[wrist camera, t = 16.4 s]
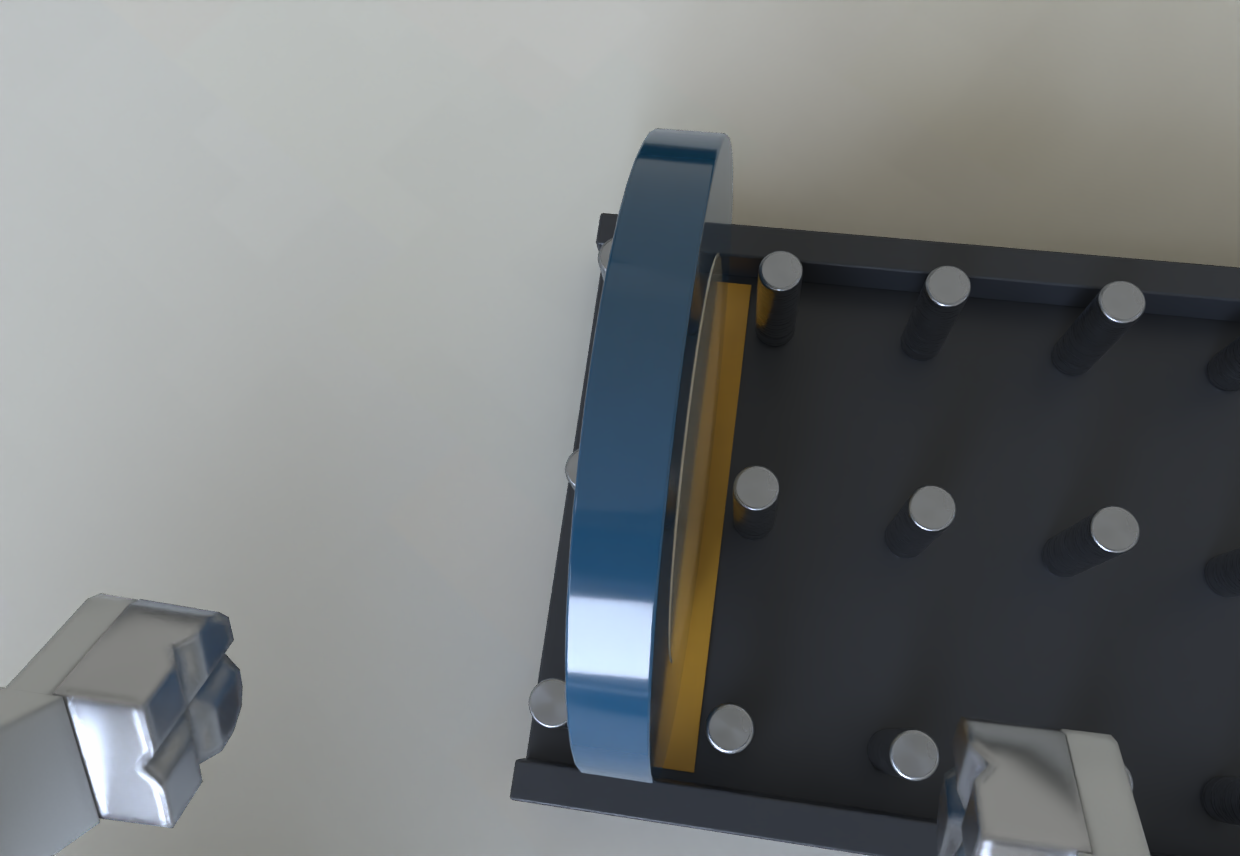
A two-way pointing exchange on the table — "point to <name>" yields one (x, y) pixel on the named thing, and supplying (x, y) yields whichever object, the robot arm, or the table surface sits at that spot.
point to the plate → (647, 454)
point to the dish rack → (945, 542)
